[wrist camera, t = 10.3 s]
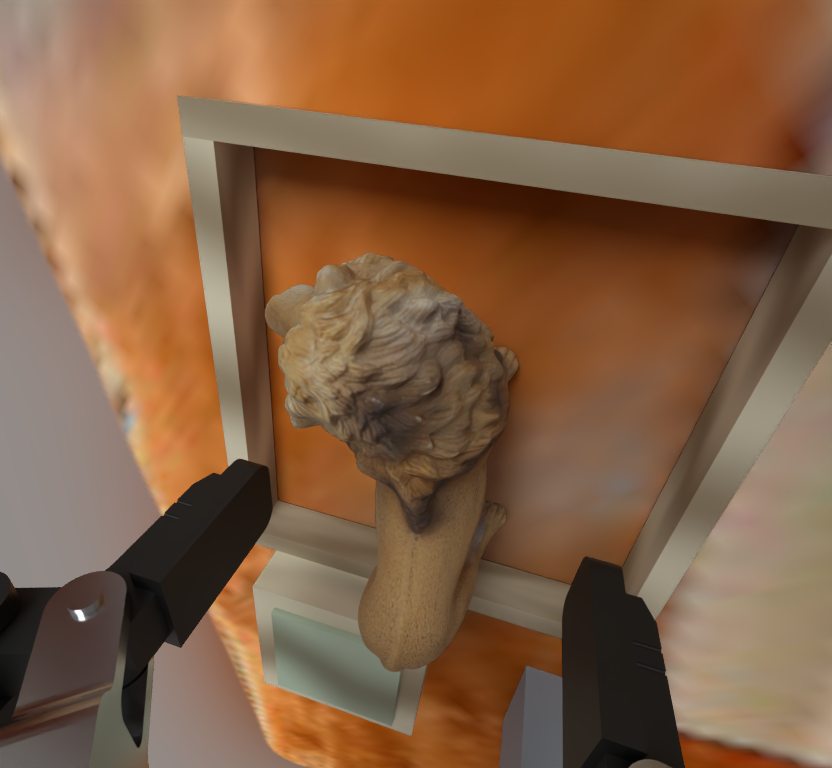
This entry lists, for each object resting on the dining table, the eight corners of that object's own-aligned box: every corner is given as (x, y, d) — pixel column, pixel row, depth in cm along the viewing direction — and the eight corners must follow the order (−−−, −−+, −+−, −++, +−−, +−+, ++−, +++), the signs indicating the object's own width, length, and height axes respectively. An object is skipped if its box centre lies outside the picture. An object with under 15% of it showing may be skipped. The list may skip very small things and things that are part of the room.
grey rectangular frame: (221, 100, 14) (108, 88, 11) (869, 180, 11) (1022, 204, 8) (270, 603, 27) (227, 675, 24) (573, 704, 24) (577, 805, 21)
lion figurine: (369, 255, 16) (170, 269, 8) (521, 240, 15) (468, 238, 6) (408, 596, 20) (303, 839, 12) (531, 615, 19) (507, 912, 10)
